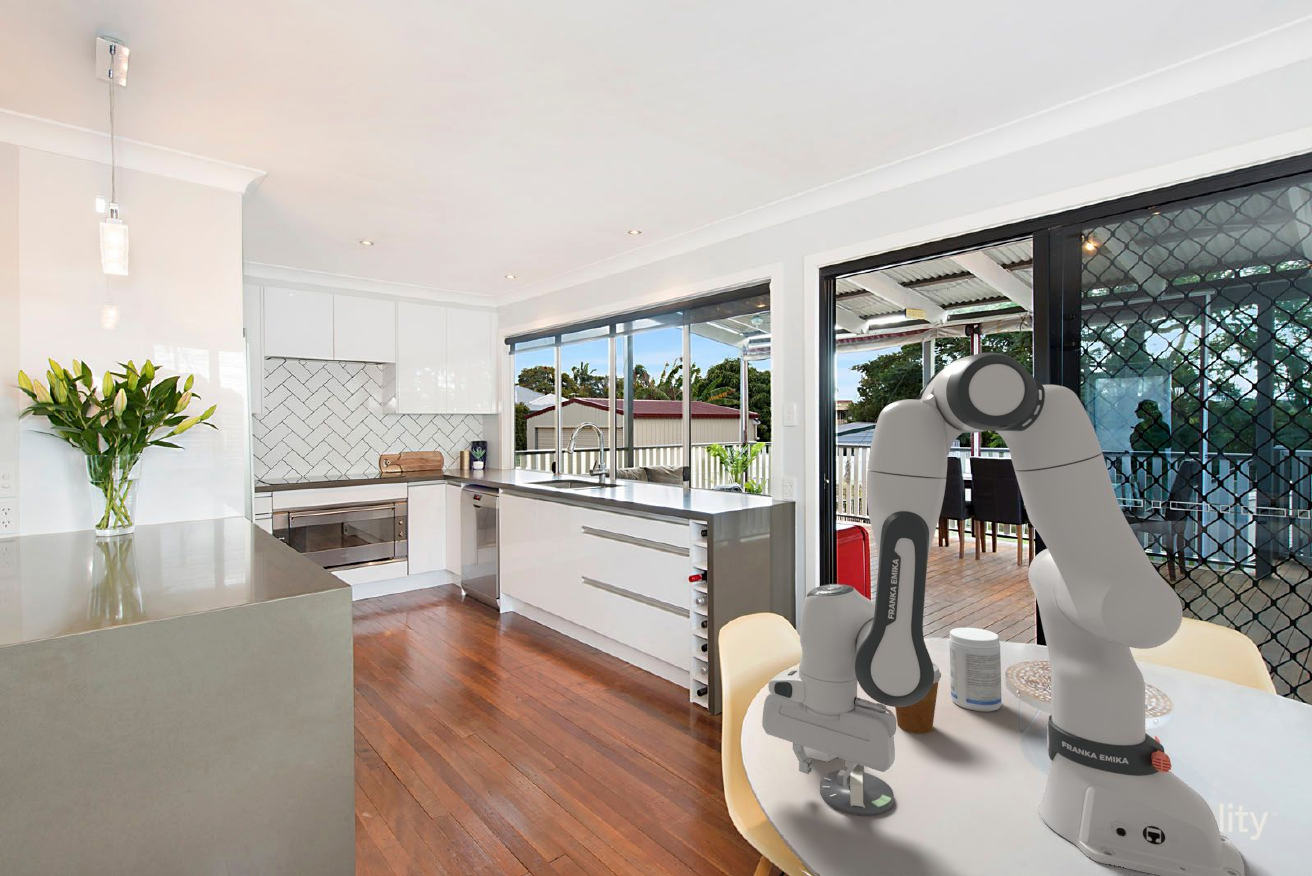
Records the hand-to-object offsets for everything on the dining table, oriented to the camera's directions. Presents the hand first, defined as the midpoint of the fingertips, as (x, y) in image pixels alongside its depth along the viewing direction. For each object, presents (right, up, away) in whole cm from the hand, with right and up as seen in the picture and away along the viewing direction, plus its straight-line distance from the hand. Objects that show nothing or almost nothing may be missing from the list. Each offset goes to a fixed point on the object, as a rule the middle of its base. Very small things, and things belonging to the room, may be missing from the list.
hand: (824, 778), depth 99 cm
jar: (+3, -3, +15) cm, 16 cm away
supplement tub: (+41, -3, +34) cm, 53 cm away
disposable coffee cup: (+24, -3, +24) cm, 34 cm away
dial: (+5, -3, +1) cm, 6 cm away
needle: (+5, -2, -1) cm, 5 cm away
